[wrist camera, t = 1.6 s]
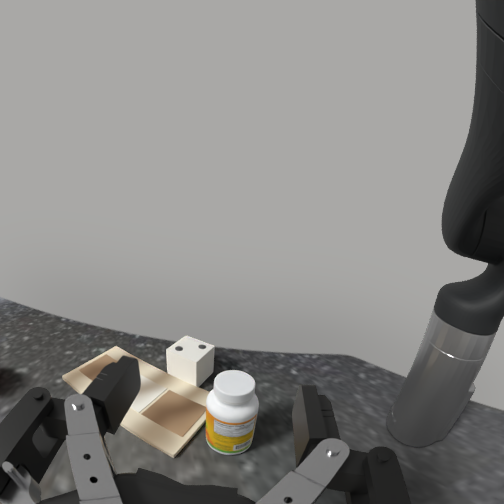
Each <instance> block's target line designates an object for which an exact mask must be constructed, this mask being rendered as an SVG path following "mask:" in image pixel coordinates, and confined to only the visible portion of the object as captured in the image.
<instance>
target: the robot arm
mask: <svg viewBox="0 0 504 504" xmlns="http://www.w3.org/2000/svg"><path fill="white" fill-rule="evenodd" d="M476 18H477V64H476V84H475V96H474V106H473V113H472V119H471V124H470V129H469V134H468V137H467V141H466V144H465V147H464V150H463V152H462V155H461V158H460V160H459V163H458V165H457V168H456V170H455V173H454V176H453V178H452V181H451V183H450V186H449V189H448V192H447V196H446V199H445V202H444V208H443V213H442V234H443V238H444V241H445V243H446V245H447V246H448V248H449V249H450V250H452V251H453V252H455V253H456V254H459V255H461V256H464V257H468V258H471V259H475V260H479V261H483V262H486V263H488V266H487V268H486V270H485V271H484V272H483V273H482V274H480V275H479V276H477V277H475V278H473V279H470V280H467V281H462V282H455V283H450V284H446V285H444V286H443V287H442V288H441V289H440V291H439V293H438V295H437V299H436V302H435V305H434V309H433V312H432V315H431V318H430V321H429V324H428V326H427V329H426V332H425V335H424V338H423V340H422V343H421V346H420V348H419V351H418V353H417V356H416V358H415V360H414V363H413V365H412V367H411V370H410V372H409V374H408V376H407V378H406V381H405V383H404V385H403V387H402V389H401V391H400V393H399V395H398V397H397V399H396V401H395V402H394V404H393V406H392V408H391V410H390V412H389V414H388V416H387V427H388V429H389V431H390V433H391V434H392V436H393V437H394V438H395V439H397V440H398V441H400V442H401V443H403V444H405V445H408V446H412V447H424V446H428V445H431V444H432V443H434V442H435V441H442V440H443V439H444V437H445V436H446V435H447V433H448V432H449V431H450V429H451V428H452V426H453V425H454V423H455V422H456V420H457V419H458V417H459V416H460V414H461V413H462V411H463V410H464V408H465V407H466V405H467V403H468V402H469V400H470V398H471V396H472V395H473V393H474V391H475V386H474V384H473V382H474V380H475V378H476V376H477V374H478V372H479V370H480V368H481V366H482V364H483V362H484V360H485V358H486V356H487V353H488V350H489V349H490V347H491V344H492V342H493V339H494V337H495V335H496V332H497V330H498V327H499V325H500V322H501V320H502V318H503V316H504V0H476ZM140 387H141V378H140V371H139V362H138V359H136V358H132V357H129V356H125V355H123V356H122V357H121V358H120V359H119V360H118V362H117V363H115V362H112V363H110V364H108V365H106V366H105V367H104V368H103V369H102V370H101V371H100V373H99V374H98V375H97V376H96V378H95V379H94V380H93V381H92V382H91V383H90V385H89V386H88V387H87V388H86V389H85V391H84V392H83V393H82V394H74V395H71V396H69V397H68V398H67V399H66V400H63V399H57V398H52V397H51V395H50V393H49V391H48V390H47V389H45V388H42V387H36V388H32V389H30V390H29V391H28V392H27V393H26V394H25V395H24V397H23V398H22V399H21V400H20V401H19V402H18V403H17V404H16V406H15V407H14V408H13V409H12V410H11V411H10V413H9V414H8V415H7V416H6V417H5V418H4V420H3V421H2V422H1V423H0V504H314V503H315V502H316V501H317V499H318V498H319V497H320V496H321V494H322V493H323V492H324V491H325V489H326V488H328V489H333V490H338V491H344V492H345V493H346V501H347V504H411V502H410V499H409V495H408V492H407V488H406V485H405V481H404V478H403V475H402V472H401V469H400V465H399V462H398V459H397V456H396V454H395V453H394V452H393V451H392V450H391V449H389V448H387V447H375V448H373V449H371V450H370V451H369V453H366V452H359V451H354V450H351V449H349V447H348V446H347V444H346V443H345V442H343V441H341V439H340V436H339V432H338V428H337V424H336V420H335V417H334V413H333V411H332V410H333V409H332V405H331V402H330V401H329V400H328V398H327V397H326V396H325V395H318V393H317V389H316V386H315V385H305V384H300V385H299V388H298V391H297V395H296V398H295V402H294V405H293V410H292V421H293V432H294V444H295V455H296V468H297V469H296V470H294V471H293V470H292V471H290V472H289V473H288V474H287V475H286V476H285V477H284V478H283V479H282V480H281V481H280V482H279V483H278V484H277V485H276V486H275V487H274V488H272V489H271V490H270V491H269V492H268V493H267V494H266V495H265V496H264V497H263V498H261V499H260V500H259V501H258V502H257V503H255V502H254V501H252V500H250V499H249V498H246V497H244V496H241V495H238V494H237V490H238V488H229V487H222V486H215V485H183V484H181V483H179V482H177V481H174V480H172V479H170V478H168V477H166V476H164V475H162V474H158V473H155V472H151V471H148V470H144V469H141V468H138V470H137V473H121V474H117V472H116V470H115V468H114V465H113V462H112V459H111V457H110V454H109V451H108V447H107V444H106V441H105V438H104V435H105V434H106V432H109V433H111V434H115V432H116V431H117V429H118V427H119V426H120V424H121V422H122V420H123V419H124V417H125V415H126V413H127V412H128V410H129V408H130V407H131V405H132V403H133V402H134V400H135V398H136V396H137V395H138V393H139V391H140ZM39 426H40V427H39ZM38 427H39V428H38ZM36 430H37V431H36ZM34 433H35V434H34ZM64 440H66V442H67V447H68V453H69V458H70V463H71V467H72V471H73V476H74V480H75V483H76V487H77V490H74V491H71V492H68V493H65V494H62V495H59V496H55V497H52V498H49V499H45V500H42V501H41V497H40V496H41V488H40V486H39V483H40V481H41V479H42V477H43V476H44V474H45V472H46V470H47V469H48V467H49V465H50V464H51V462H52V460H53V458H54V457H55V455H56V453H57V452H58V450H59V448H60V447H61V445H62V443H63V442H64Z"/></svg>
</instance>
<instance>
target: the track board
mask: <svg viewBox="0 0 504 504" xmlns="http://www.w3.org/2000/svg"><path fill="white" fill-rule="evenodd" d="M123 355H125V356H129V357H132V358H136V359H138V358H137V357H135V356H133V355H131V354H129V353H128V352H126V351H124V350H122V349H120V348H119V347H117V346H115V347H113V348H112V349H110V350H108V351H106V352H104V353H103V354H101V355H99V356H97V357H96V358H94V359H92V360H90V361H88V362H87V363H85V364H83V365H81V366H79V367H78V368H76V369H74V370H72V371H71V372H69V373H67V374H65V375H63V376H62V377H63V380H65V381H66V382H67V383H68V384H69V385H70V386H71V387H72V388H73V389H75V390H76V391H77V392H78V393H79V394H82V393H83V392H84V391H85V389H86V388H87V387H88V386H89V385H90V383H91V382H92V381H93V380H94V379H95V378H96V376H97V375H98V374H99V373H100V371H101V370H102V369H103V368H104V367H105V366H106V365H108V364H110V363H112V362H115V363H117V362H118V360H119V359H120V358H121V357H122V356H123ZM138 362H139V371H140V378H141V387H140V391H139V393H138V395H137V396H136V398H135V400H134V402H133V403H132V405H131V407H130V408H129V410H128V412H127V413H126V415H125V417H124V419H123V420H122V422H121V424H120V425H121V426H122V427H124V428H125V429H127V430H128V431H130V432H131V433H133V434H134V435H136V436H137V437H139V438H140V439H142V440H143V441H145V442H147V443H148V444H150V445H152V446H153V447H155V448H157V449H158V450H160V451H162V452H164V453H166V454H167V455H169V456H171V457H173V458H174V457H175V456H176V455H177V454H178V453H179V452H180V451H181V450H182V449H183V447H184V446H185V445H186V444H187V443H188V442H189V441H190V440H191V438H192V437H193V436H194V435H195V434H196V433H197V431H198V430H199V429H200V428H201V427H202V426H203V424H204V423H205V422H206V400H207V396H208V394H209V393H210V392H208V391H206V390H203V389H201V388H199V387H196V386H194V385H192V384H190V383H187V382H185V381H183V380H181V379H179V378H176V377H174V376H172V375H170V374H168V373H166V372H164V371H162V370H160V369H158V368H156V367H154V366H152V365H150V364H148V363H146V362H144V361H142V360H140V359H138Z"/></svg>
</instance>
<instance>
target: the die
mask: <svg viewBox="0 0 504 504" xmlns="http://www.w3.org/2000/svg"><path fill="white" fill-rule="evenodd" d="M214 348H215V346H214V345H210V344H208V343H205V342H202V341H200V340H197V339H194V338H191V337H189V336H184V337H183V338H182V339H180V340H179V341H177V342H176V343H175V344H173V345H172V346H170V347H169V348H168V349H166V355H167V371H168V374H170V375H172V376H174V377H176V378H179V379H181V380H183V381H185V382H187V383H190V384H192V385H194V386H196V387H199V386H200V385H201V384H202V383H203V382H204V381H205V380H206V379H207V378H208V377H209V376H210V375H211V374H212V373H213V368H214Z"/></svg>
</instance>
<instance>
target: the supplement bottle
mask: <svg viewBox="0 0 504 504" xmlns="http://www.w3.org/2000/svg"><path fill="white" fill-rule="evenodd" d="M258 407H259V402H258V398H257V396H256V395H255V381H254V379H253V378H252V377H251V376H250V375H249V374H247V373H245V372H242V371H238V370H228V371H224V372H221V373H220V374H218V375H217V376H216V377H215V380H214V389H213V390H211V391H210V393H209V394H208V396H207V400H206V440H207V443H208V444H209V446H210V447H211V448H212V449H213V450H215V451H216V452H219V453H221V454H225V455H236V454H240V453H242V452H244V451H246V450H247V449H248V448H249V447H250V445H251V443H252V439H253V435H254V429H255V424H256V419H257V413H258Z"/></svg>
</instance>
